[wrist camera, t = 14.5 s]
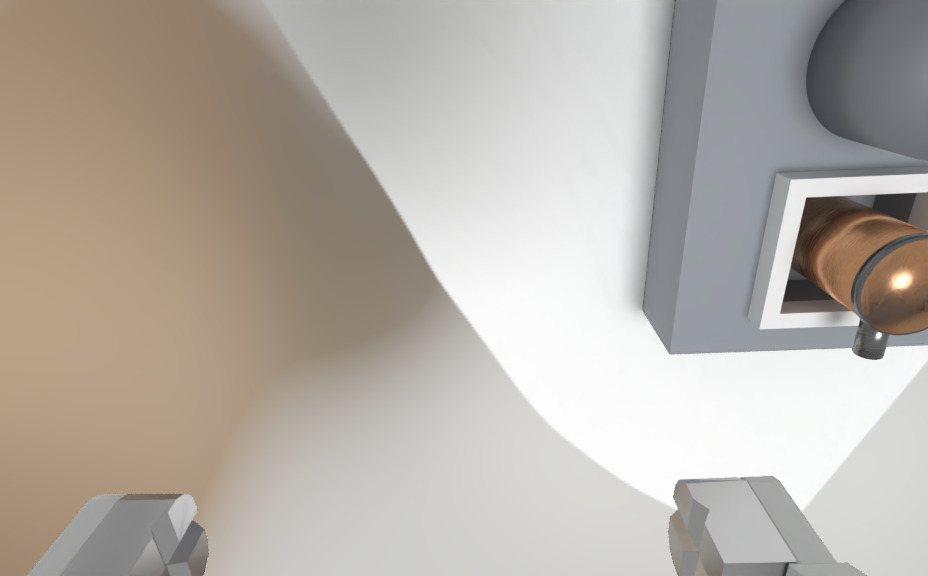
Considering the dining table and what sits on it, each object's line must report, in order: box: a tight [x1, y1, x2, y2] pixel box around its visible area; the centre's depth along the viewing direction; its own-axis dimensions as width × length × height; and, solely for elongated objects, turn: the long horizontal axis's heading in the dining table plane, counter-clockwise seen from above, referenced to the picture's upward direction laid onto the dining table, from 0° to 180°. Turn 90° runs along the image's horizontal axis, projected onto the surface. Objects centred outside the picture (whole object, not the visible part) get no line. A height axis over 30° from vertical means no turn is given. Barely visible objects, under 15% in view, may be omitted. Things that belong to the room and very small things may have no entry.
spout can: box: [791, 196, 928, 360], centre depth 31 cm, size 7×5×9 cm
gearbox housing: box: [643, 0, 928, 354], centre depth 30 cm, size 22×18×11 cm
